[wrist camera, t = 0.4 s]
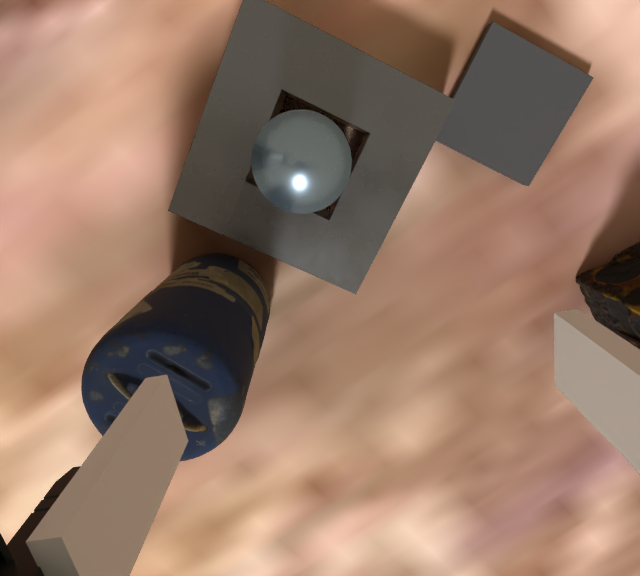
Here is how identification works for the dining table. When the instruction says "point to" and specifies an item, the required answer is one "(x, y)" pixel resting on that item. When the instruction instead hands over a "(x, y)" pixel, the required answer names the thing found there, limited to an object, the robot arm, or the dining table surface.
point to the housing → (329, 98)
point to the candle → (616, 294)
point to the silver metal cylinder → (301, 161)
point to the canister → (185, 349)
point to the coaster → (511, 104)
